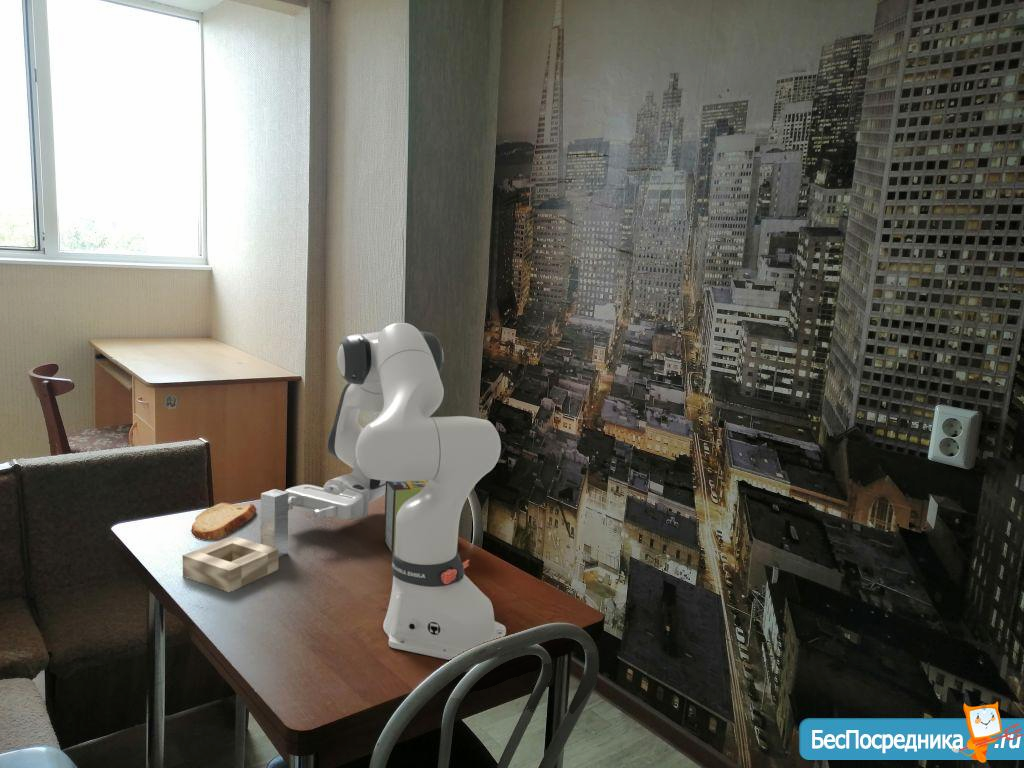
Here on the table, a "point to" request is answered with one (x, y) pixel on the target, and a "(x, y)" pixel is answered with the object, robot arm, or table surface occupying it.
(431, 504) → the robot arm
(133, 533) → the table surface
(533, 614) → the table surface
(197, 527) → the bread slice
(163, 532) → the table surface
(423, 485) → the protein box
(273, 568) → the well block
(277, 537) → the steel post
